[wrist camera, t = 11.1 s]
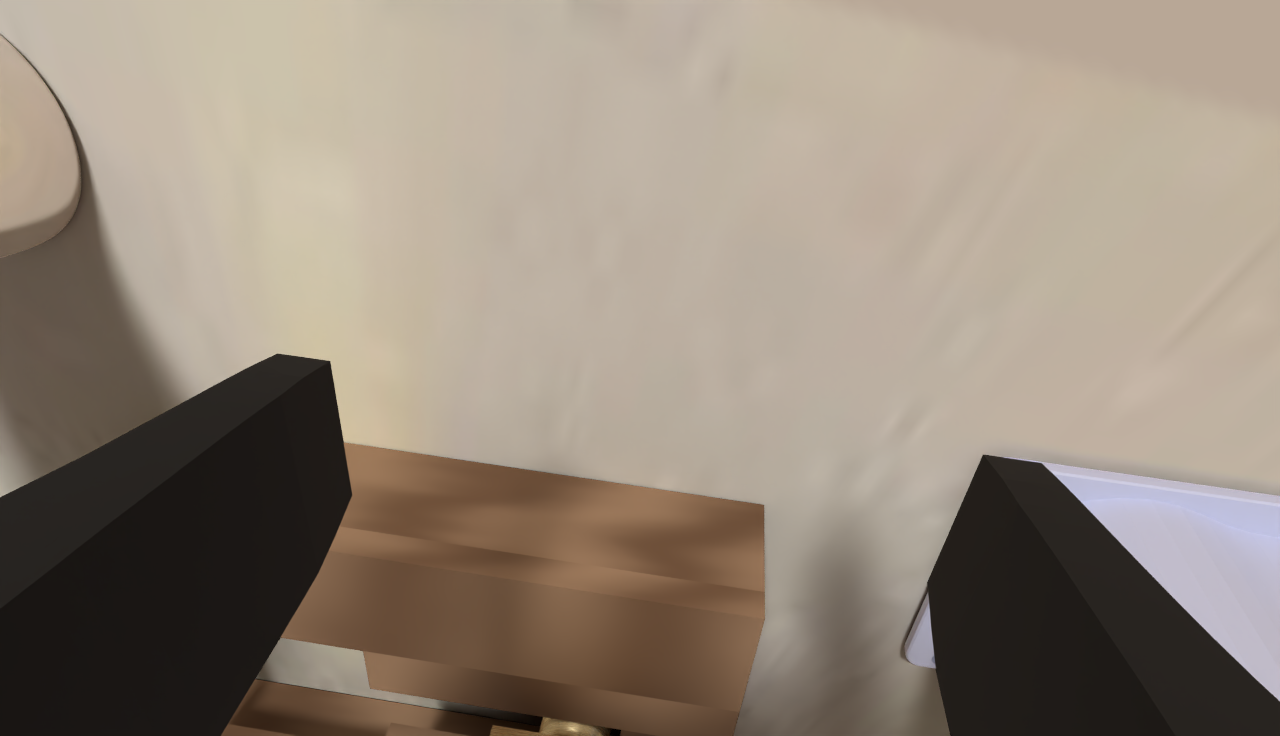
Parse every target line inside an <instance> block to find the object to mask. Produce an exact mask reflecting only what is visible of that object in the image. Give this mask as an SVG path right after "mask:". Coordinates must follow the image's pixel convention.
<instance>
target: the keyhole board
mask: <svg viewBox="0 0 1280 736" xmlns="http://www.w3.org/2000/svg"><path fill="white" fill-rule="evenodd" d="M344 448H345V454H346V460H347V466H348V472H349V478H350V484H351V490H352V497H351V500H350V502H349V504H348V507H347V509H346V512H345V514H344V516H343V519H342V521H341V524H340V526H339V528H338V531H337V533H336V536H335V538H334V540H333V542H332V545H331V547H330V549H329V551H328V553H327V556H326V558H325V560H324V562H323V564H322V567H321V569H320V571H319V573H318V575H317V577H316V578H315V580H314V582H313V583H312V585H311V587H310V589H309V590H308V592H307V594H306V595H305V597H304V599H303V600H302V602H301V604H300V606H299V607H298V609H297V611H296V612H295V614H294V616H293V617H292V619H291V621H290V622H289V624H288V626H287V627H286V629H285V631H284V632H283V634H282V636H281V637H280V638H286V639H293V640H299V641H305V642H311V643H317V644H323V645H330V646H336V647H342V648H348V649H354V650H360V651H363V653H364V658H365V664H366V669H367V674H368V680H369V685H370V688H371V689H377V690H383V691H389V692H395V693H401V694H407V695H413V696H419V697H425V698H431V699H437V700H443V701H449V702H455V703H462V704H468V705H474V706H480V707H486V708H492V709H498V710H504V711H510V712H516V713H522V714H528V715H534V716H540V717H546V718H552V719H559V720H565V721H571V722H577V723H583V724H589V725H595V726H601V727H607V728H613V729H619V730H621V735H620V736H733V734H734V730H735V727H736V723H737V719H738V716H739V712H740V708H741V705H742V701H743V697H744V694H745V690H746V686H747V683H748V679H749V675H750V672H751V668H752V664H753V661H754V657H755V653H756V650H757V646H758V642H759V639H760V635H761V631H762V628H763V624H764V620H765V574H764V505H760V504H753V503H747V502H740V501H733V500H727V499H720V498H713V497H706V496H700V495H693V494H686V493H679V492H673V491H666V490H659V489H652V488H646V487H639V486H632V485H626V484H619V483H612V482H605V481H599V480H592V479H585V478H578V477H572V476H565V475H558V474H551V473H545V472H538V471H531V470H524V469H518V468H511V467H504V466H498V465H491V464H484V463H477V462H471V461H464V460H457V459H450V458H444V457H437V456H430V455H423V454H417V453H410V452H403V451H397V450H390V449H383V448H376V447H370V446H363V445H356V444H349V443H344ZM493 725H496V726H502V727H508V728H513V729H519V730H525V731H531V732H537V733H539V731H540V726H534V725H528V724H522V723H516V722H510V721H504V720H498V719H492V718H486V717H480V716H474V715H468V714H462V713H456V712H450V711H444V710H438V709H432V708H426V707H419V706H413V705H407V704H401V703H395V702H389V701H383V700H377V699H371V698H365V697H359V696H353V695H347V694H341V693H335V692H329V691H323V690H317V689H311V688H305V687H299V686H293V685H287V684H281V683H275V682H269V681H263V680H256V679H255V680H254V682H253V683H252V685H251V687H250V688H249V690H248V692H247V693H246V695H245V697H244V698H243V700H242V702H241V703H240V705H239V707H238V708H237V710H236V711H235V713H234V715H233V716H232V718H231V720H230V721H229V723H228V725H227V726H226V728H225V730H224V731H223V733H222V735H221V736H490V733H491V729H492V726H493Z"/></svg>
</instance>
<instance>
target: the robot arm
mask: <svg viewBox="0 0 1280 736" xmlns="http://www.w3.org/2000/svg"><path fill="white" fill-rule="evenodd" d="M351 497H352V490H351V484H350V478H349V472H348V466H347V460H346V454H345V448H344V442H343V436H342V430H341V424H340V418H339V412H338V406H337V400H336V394H335V388H334V382H333V376H332V370H331V364H330V361H325V360H318V359H311V358H304V357H297V356H291V355H284V354H276V355H274V356H272V357H269V358H267V359H265V360H263V361H261V362H259V363H257V364H255V365H253V366H251V367H249V368H247V369H245V370H243V371H241V372H239V373H237V374H235V375H233V376H231V377H229V378H228V379H226V380H224V381H222V382H220V383H218V384H216V385H214V386H213V387H211V388H209V389H207V390H205V391H203V392H202V393H200V394H198V395H196V396H194V397H192V398H191V399H189V400H187V401H185V402H183V403H181V404H180V405H178V406H176V407H174V408H172V409H170V410H169V411H167V412H165V413H163V414H161V415H159V416H157V417H156V418H154V419H152V420H150V421H148V422H146V423H144V424H143V425H141V426H139V427H137V428H135V429H133V430H131V431H129V432H128V433H126V434H124V435H122V436H120V437H118V438H116V439H115V440H113V441H111V442H109V443H107V444H105V445H103V446H102V447H100V448H98V449H96V450H94V451H92V452H90V453H88V454H87V455H85V456H83V457H81V458H79V459H77V460H75V461H73V462H71V463H69V464H67V465H65V466H63V467H61V468H59V469H57V470H55V471H53V472H51V473H49V474H47V475H45V476H43V477H41V478H39V479H37V480H34V481H32V482H30V483H28V484H26V485H24V486H22V487H20V488H18V489H16V490H14V491H12V492H10V493H8V494H6V495H4V496H2V497H0V736H221V735H222V733H223V731H224V730H225V728H226V726H227V725H228V723H229V721H230V720H231V718H232V716H233V715H234V713H235V711H236V710H237V708H238V707H239V705H240V703H241V702H242V700H243V698H244V697H245V695H246V693H247V692H248V690H249V688H250V687H251V685H252V683H253V682H254V680H255V679H256V677H257V675H258V674H259V672H260V670H261V669H262V667H263V665H264V664H265V662H266V660H267V659H268V657H269V655H270V654H271V652H272V651H273V649H274V647H275V646H276V644H277V642H278V641H279V639H280V637H281V636H282V634H283V632H284V631H285V629H286V627H287V626H288V624H289V622H290V621H291V619H292V617H293V616H294V614H295V612H296V611H297V609H298V607H299V606H300V604H301V602H302V600H303V599H304V597H305V595H306V594H307V592H308V590H309V589H310V587H311V585H312V583H313V582H314V580H315V578H316V577H317V575H318V573H319V571H320V569H321V567H322V564H323V562H324V560H325V558H326V556H327V553H328V551H329V549H330V547H331V545H332V542H333V540H334V538H335V536H336V533H337V531H338V528H339V526H340V524H341V521H342V519H343V516H344V514H345V512H346V509H347V507H348V504H349V502H350V500H351ZM927 584H928V593H927V595H926V597H925V600H924V602H923V604H922V606H921V609H920V611H919V613H918V615H917V618H916V620H915V622H914V625H913V627H912V629H911V631H910V634H909V636H908V638H907V640H906V643H905V647H904V649H905V654H906V658H907V660H908V661H909V662H911V663H912V664H914V665H918V666H923V667H929V668H935V669H936V673H937V677H938V682H939V687H940V691H941V696H942V700H943V704H944V709H945V713H946V718H947V722H948V726H949V731H950V735H951V736H1280V496H1276V495H1269V494H1262V493H1255V492H1248V491H1241V490H1234V489H1227V488H1220V487H1213V486H1206V485H1199V484H1192V483H1186V482H1179V481H1172V480H1165V479H1158V478H1151V477H1144V476H1137V475H1130V474H1123V473H1116V472H1109V471H1102V470H1095V469H1088V468H1081V467H1074V466H1067V465H1060V464H1053V463H1046V462H1039V461H1032V460H1025V459H1018V458H1011V457H996V456H989V455H983V456H982V458H981V461H980V463H979V465H978V468H977V470H976V472H975V475H974V477H973V479H972V481H971V484H970V486H969V488H968V491H967V493H966V495H965V497H964V500H963V502H962V504H961V507H960V509H959V511H958V513H957V516H956V518H955V520H954V523H953V525H952V527H951V530H950V532H949V534H948V536H947V539H946V541H945V543H944V546H943V548H942V550H941V552H940V555H939V557H938V559H937V562H936V564H935V566H934V568H933V571H932V573H931V575H930V578H929V580H928V582H927Z"/></svg>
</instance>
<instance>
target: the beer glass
mask: <svg viewBox="0 0 1280 736" xmlns="http://www.w3.org/2000/svg"><path fill="white" fill-rule="evenodd" d="M80 193H81V167H80V160H79V155H78V151H77V147H76V143H75V140H74V137H73V134H72V132H71V129H70V127H69V124H68V122H67V120H66V118H65V116H64V114H63V112H62V110H61V108H60V106H59V104H58V103H57V101H56V99H55V98H54V96H53V94H52V93H51V91H50V90H49V88H48V87H47V85H46V84H45V83H44V81H43V80H42V79H41V77H40V76H39V75H38V73H37V72H36V71H35V70H34V68H33V67H32V66H31V65H30V64H29V63H28V61H27V60H26V59H25V58H24V57H23V56H22V55H21V54H20V53H19V52H18V51H17V50H16V49H15V48H14V47H13V46H12V45H11V44H10V43H9V42H8V41H7V40H6V39H5V38H4V37H2V36H1V35H0V258H3V257H6V256H9V255H13V254H16V253H19V252H22V251H24V250H27V249H30V248H33V247H35V246H37V245H40V244H42V243H44V242H46V241H48V240H50V239H51V238H53V237H54V236H56V235H57V234H58V233H59V232H60V231H61V230H62V229H63V228H64V227H65V226H66V225H67V224H68V222H69V221H70V220H71V218H72V217H73V215H74V213H75V211H76V208H77V206H78V203H79V199H80Z"/></svg>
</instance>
